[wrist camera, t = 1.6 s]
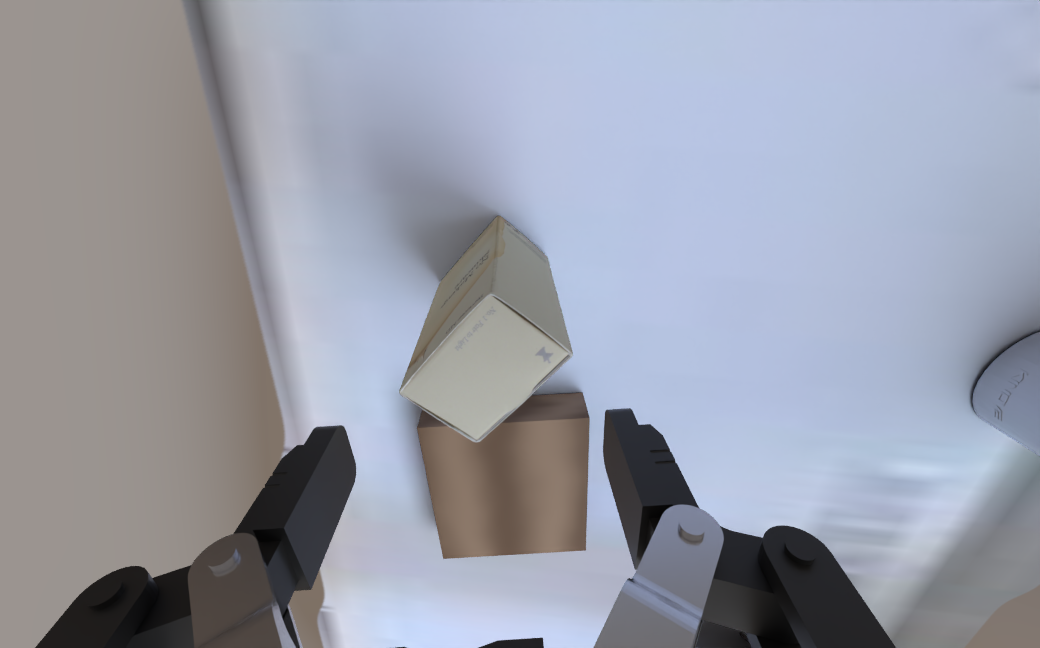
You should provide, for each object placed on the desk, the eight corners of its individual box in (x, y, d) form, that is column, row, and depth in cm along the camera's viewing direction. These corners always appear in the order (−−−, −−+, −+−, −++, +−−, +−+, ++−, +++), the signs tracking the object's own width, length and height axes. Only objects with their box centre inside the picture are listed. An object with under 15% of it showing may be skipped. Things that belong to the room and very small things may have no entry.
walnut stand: (582, 392, 32) (589, 417, 29) (580, 519, 38) (585, 550, 35) (424, 401, 32) (417, 428, 29) (447, 527, 38) (443, 558, 35)
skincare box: (498, 212, 26) (492, 281, 15) (550, 258, 27) (580, 352, 16) (436, 284, 28) (391, 393, 17) (488, 324, 29) (477, 447, 18)
